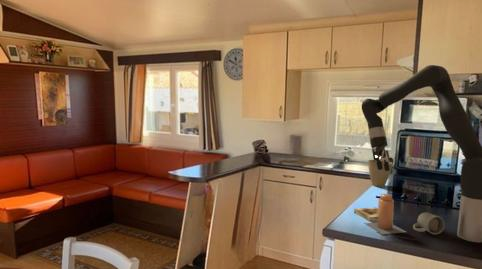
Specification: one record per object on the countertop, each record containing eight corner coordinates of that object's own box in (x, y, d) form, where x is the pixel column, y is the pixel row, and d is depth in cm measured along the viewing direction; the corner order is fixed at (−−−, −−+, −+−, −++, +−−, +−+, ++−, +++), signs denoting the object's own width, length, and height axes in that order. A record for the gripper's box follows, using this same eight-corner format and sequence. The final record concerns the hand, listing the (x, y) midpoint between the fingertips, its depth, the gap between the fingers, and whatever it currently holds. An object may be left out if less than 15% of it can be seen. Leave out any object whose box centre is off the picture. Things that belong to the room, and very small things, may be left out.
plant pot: (384, 189, 211) (386, 164, 209) (362, 185, 222) (364, 161, 220) (394, 186, 221) (396, 162, 219) (372, 181, 232) (374, 159, 230)
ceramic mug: (430, 227, 148) (432, 210, 147) (444, 234, 140) (445, 216, 139) (408, 228, 146) (409, 210, 146) (420, 235, 138) (422, 217, 138)
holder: (375, 212, 166) (375, 207, 165) (392, 220, 154) (392, 215, 154) (353, 213, 163) (354, 208, 162) (369, 222, 151) (369, 217, 151)
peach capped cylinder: (377, 223, 148) (379, 192, 147) (392, 226, 145) (394, 194, 144) (376, 229, 141) (378, 196, 140) (392, 231, 139) (394, 198, 138)
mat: (387, 223, 151) (387, 221, 151) (406, 233, 140) (406, 231, 140) (364, 224, 148) (364, 223, 148) (381, 235, 137) (382, 233, 137)
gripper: (379, 133, 157) (386, 167, 153) (391, 137, 167) (397, 170, 163) (364, 137, 162) (370, 170, 158) (376, 141, 172) (382, 172, 168)
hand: (384, 170), depth 160 cm, fingers open, 8 cm apart
